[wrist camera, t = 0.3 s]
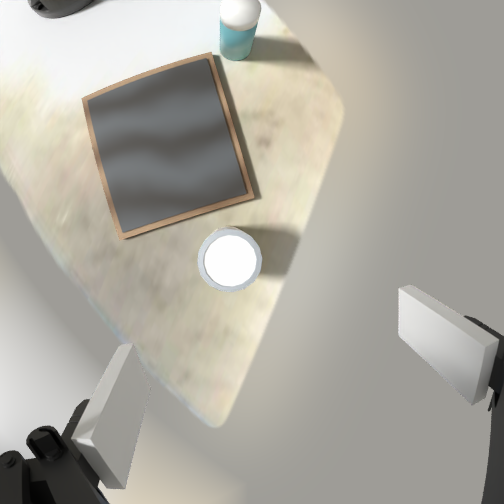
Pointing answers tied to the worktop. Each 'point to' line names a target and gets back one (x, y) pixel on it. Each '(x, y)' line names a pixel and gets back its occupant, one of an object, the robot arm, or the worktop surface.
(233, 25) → the teal bottle
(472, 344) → the robot arm
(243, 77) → the worktop surface
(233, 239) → the white tapered cup
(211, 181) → the slate board
